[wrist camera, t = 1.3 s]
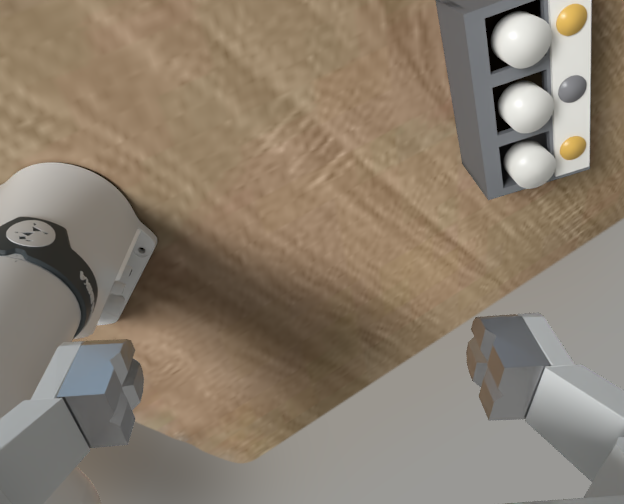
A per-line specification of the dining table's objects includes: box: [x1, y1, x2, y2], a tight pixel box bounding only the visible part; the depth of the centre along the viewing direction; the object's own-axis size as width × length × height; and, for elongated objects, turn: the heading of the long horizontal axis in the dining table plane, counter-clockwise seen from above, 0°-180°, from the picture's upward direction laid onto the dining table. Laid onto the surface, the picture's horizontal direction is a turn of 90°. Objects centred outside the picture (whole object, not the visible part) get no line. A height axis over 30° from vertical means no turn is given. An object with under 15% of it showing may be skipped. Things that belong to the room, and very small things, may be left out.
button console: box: [436, 0, 592, 200], centre depth 43 cm, size 17×9×8 cm, turn 19°
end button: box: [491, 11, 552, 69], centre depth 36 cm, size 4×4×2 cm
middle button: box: [497, 80, 554, 133], centre depth 39 cm, size 4×4×2 cm
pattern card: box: [548, 0, 591, 177], centre depth 39 cm, size 16×3×1 cm, turn 19°
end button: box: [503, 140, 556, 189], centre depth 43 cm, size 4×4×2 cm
